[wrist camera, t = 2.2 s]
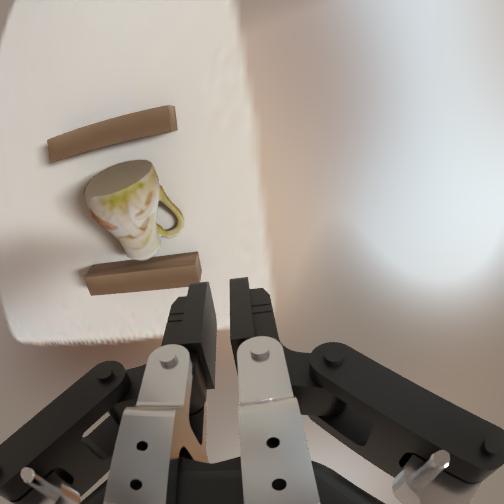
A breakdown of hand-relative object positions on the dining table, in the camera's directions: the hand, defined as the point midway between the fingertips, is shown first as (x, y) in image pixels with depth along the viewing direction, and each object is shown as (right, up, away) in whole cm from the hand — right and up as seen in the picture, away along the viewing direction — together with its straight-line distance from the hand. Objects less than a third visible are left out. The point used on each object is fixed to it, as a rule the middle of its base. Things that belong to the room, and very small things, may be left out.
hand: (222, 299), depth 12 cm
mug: (-10, +7, +18) cm, 21 cm away
